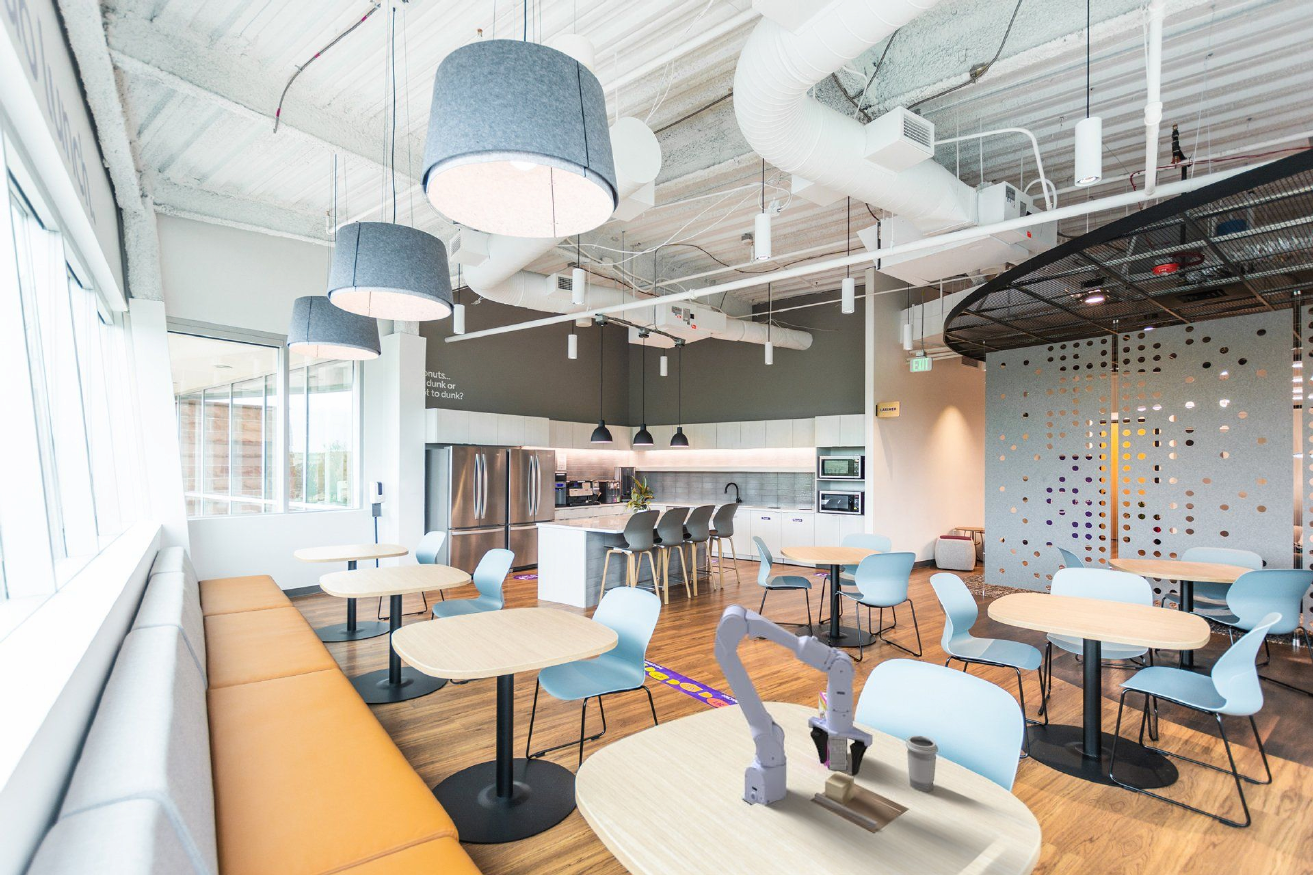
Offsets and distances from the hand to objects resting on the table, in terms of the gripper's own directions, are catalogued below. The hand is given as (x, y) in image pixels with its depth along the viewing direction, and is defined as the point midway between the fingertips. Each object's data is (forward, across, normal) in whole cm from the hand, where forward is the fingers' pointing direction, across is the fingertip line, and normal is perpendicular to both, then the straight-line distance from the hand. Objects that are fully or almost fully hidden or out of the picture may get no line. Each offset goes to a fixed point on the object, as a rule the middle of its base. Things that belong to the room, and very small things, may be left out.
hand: (839, 767), depth 148 cm
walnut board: (+8, +4, +1) cm, 10 cm away
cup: (+9, +12, +18) cm, 23 cm away
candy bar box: (+9, -10, +16) cm, 21 cm away
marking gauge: (+7, 0, +2) cm, 7 cm away
